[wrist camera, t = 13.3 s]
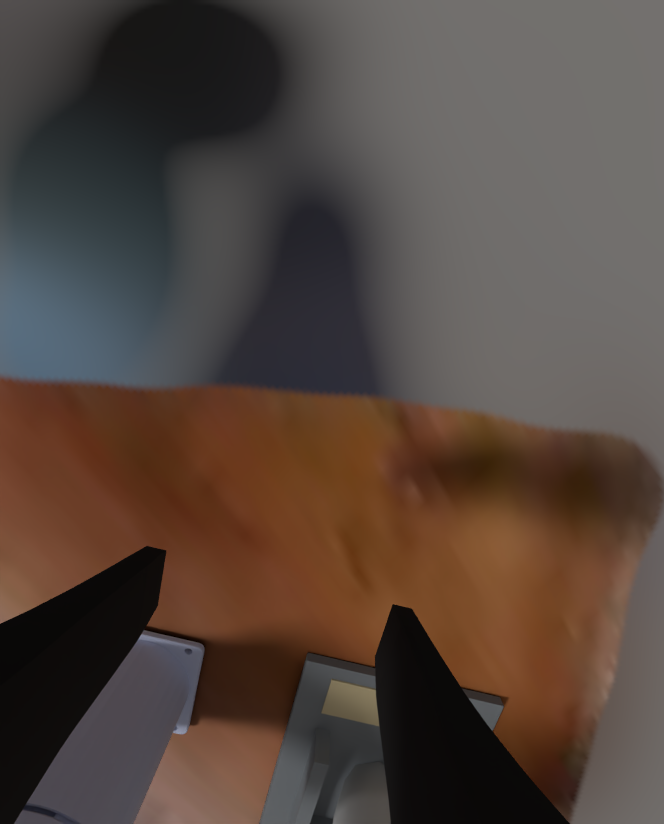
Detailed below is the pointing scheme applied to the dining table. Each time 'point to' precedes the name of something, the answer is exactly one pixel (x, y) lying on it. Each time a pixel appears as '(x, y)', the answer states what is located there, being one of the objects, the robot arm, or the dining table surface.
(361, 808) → the salt shaker
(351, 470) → the dining table surface
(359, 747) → the stand
